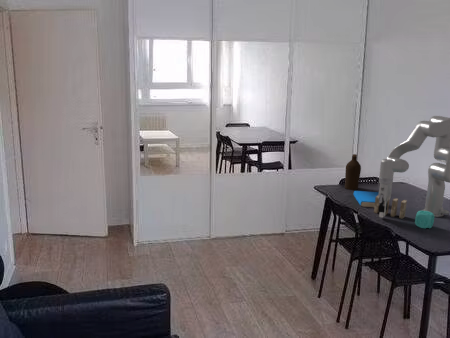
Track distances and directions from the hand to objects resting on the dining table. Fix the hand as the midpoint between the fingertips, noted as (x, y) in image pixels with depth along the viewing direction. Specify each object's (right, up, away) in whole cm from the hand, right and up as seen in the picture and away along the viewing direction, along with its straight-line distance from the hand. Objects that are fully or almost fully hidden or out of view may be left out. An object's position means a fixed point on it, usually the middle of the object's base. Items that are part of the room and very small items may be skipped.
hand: (382, 210), depth 272 cm
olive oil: (0, +10, +66) cm, 67 cm away
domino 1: (+1, -2, +13) cm, 13 cm away
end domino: (0, -3, +1) cm, 4 cm away
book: (+3, +2, +35) cm, 35 cm away
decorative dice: (+20, -8, -9) cm, 23 cm away
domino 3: (+9, -4, +8) cm, 12 cm away
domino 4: (+13, -4, +5) cm, 15 cm away
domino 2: (+5, -3, +10) cm, 12 cm away
